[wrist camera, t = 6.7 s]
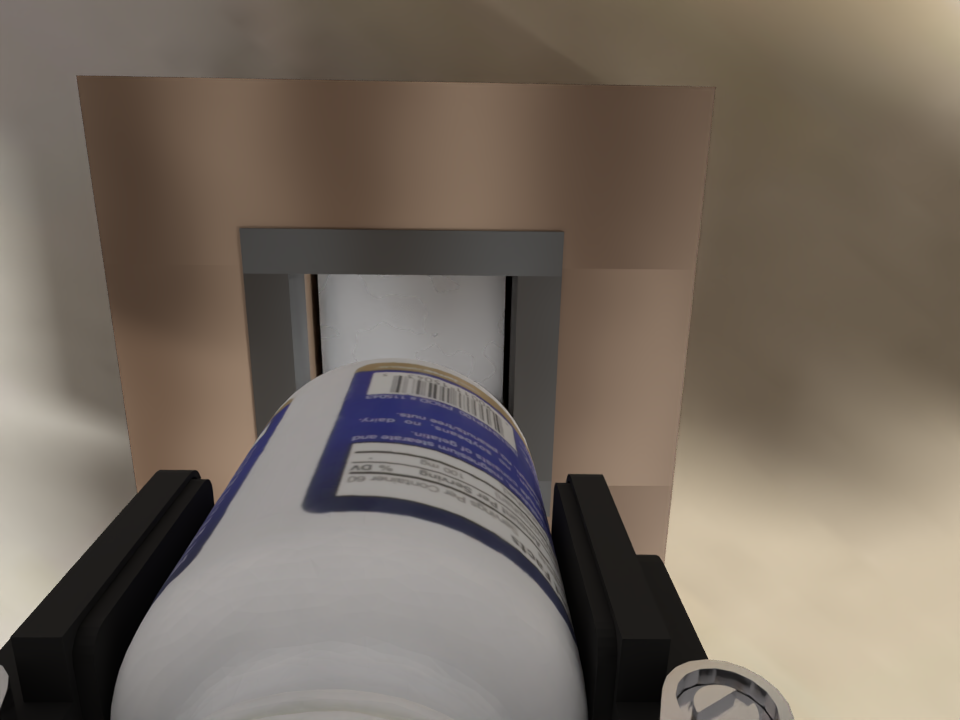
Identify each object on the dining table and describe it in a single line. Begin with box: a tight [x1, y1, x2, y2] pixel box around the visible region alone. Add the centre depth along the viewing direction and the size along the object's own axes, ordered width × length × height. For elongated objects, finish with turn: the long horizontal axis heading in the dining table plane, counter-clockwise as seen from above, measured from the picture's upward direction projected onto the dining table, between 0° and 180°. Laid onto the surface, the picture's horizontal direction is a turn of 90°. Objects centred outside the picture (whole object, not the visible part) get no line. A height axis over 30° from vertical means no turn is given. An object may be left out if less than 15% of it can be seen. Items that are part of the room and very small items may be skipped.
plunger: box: [318, 274, 506, 404], centre depth 24 cm, size 6×6×1 cm
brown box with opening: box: [76, 76, 716, 563], centre depth 25 cm, size 16×16×10 cm
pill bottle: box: [110, 358, 588, 720], centre depth 9 cm, size 5×5×9 cm
